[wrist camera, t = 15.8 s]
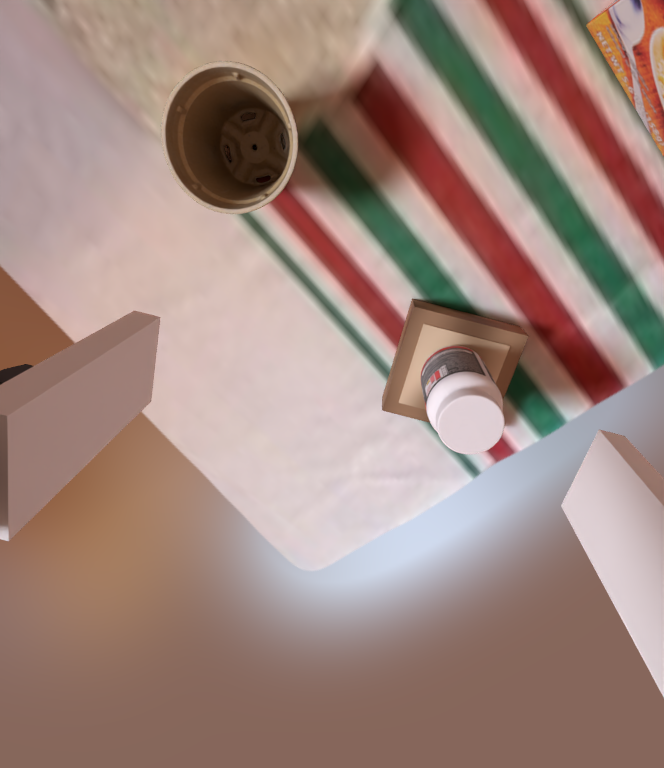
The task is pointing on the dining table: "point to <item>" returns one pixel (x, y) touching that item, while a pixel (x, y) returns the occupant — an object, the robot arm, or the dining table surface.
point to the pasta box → (636, 55)
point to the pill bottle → (462, 400)
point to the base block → (441, 329)
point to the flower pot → (229, 137)
